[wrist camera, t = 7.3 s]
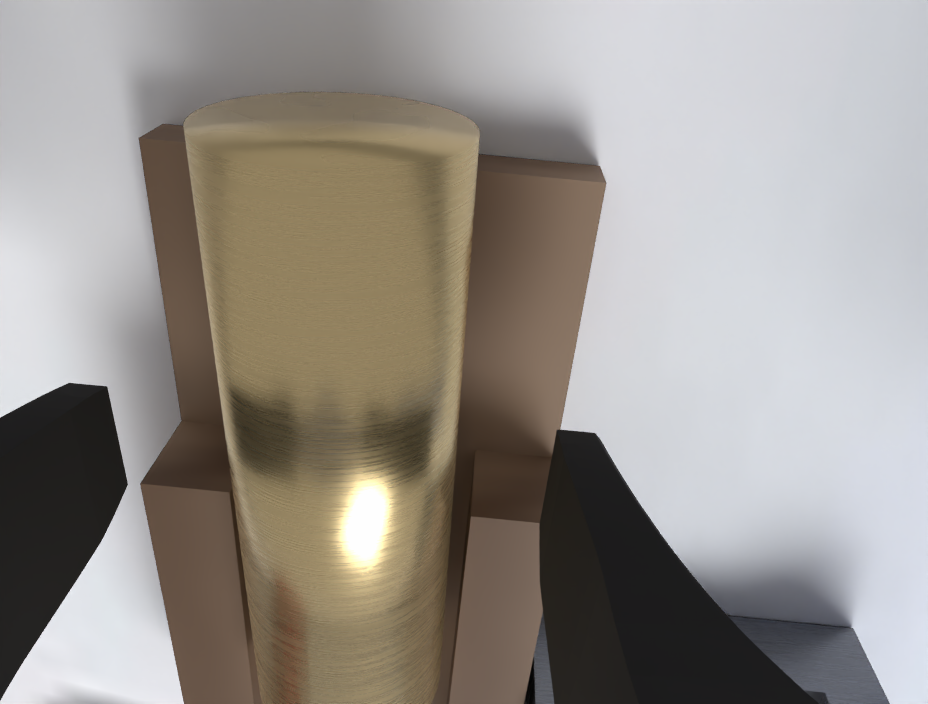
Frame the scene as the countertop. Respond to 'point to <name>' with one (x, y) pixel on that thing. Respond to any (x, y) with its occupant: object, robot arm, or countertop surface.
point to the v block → (789, 646)
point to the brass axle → (339, 375)
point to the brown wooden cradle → (478, 442)
